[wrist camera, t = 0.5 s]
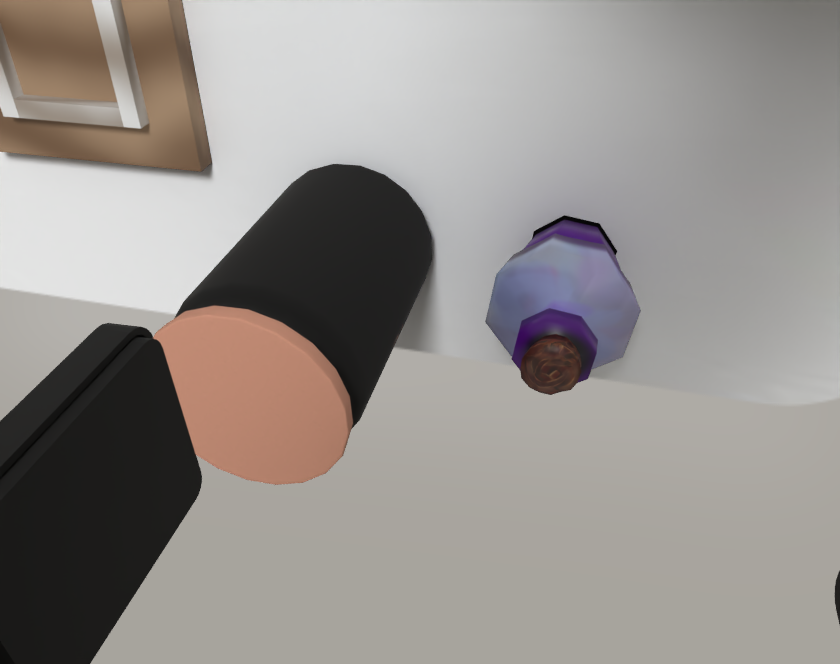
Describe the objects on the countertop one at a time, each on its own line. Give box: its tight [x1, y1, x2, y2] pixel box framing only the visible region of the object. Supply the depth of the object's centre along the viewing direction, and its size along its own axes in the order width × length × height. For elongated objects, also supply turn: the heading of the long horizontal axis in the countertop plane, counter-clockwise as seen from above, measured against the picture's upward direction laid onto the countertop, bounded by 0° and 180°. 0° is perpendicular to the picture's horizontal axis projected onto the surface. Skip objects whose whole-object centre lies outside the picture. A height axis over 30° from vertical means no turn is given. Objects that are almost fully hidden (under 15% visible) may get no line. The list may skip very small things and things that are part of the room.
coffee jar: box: [153, 164, 432, 485], centre depth 43 cm, size 11×11×18 cm
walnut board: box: [0, 0, 212, 172], centre depth 46 cm, size 16×16×2 cm
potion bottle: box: [486, 216, 641, 395], centre depth 42 cm, size 9×9×12 cm
